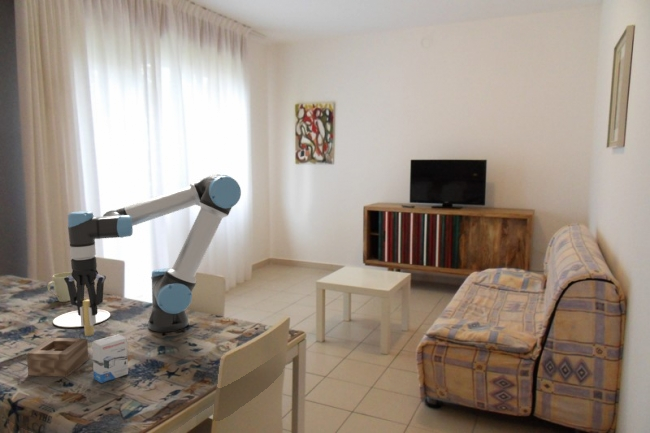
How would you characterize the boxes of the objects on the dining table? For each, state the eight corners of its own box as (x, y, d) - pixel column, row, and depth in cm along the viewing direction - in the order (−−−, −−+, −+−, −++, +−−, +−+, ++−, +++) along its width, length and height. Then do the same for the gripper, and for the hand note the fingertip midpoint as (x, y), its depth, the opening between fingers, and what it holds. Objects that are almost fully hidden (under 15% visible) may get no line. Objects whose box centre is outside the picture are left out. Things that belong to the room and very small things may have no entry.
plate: (108, 326, 180) (108, 323, 180) (48, 332, 172) (48, 329, 172) (112, 309, 199) (111, 306, 199) (57, 314, 192) (57, 311, 191)
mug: (54, 298, 212) (53, 273, 210) (78, 296, 215) (76, 272, 213) (47, 305, 201) (46, 279, 200) (72, 303, 204) (71, 278, 203)
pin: (95, 332, 158) (93, 299, 156) (91, 335, 155) (89, 301, 153) (87, 332, 158) (85, 299, 156) (83, 335, 155) (80, 301, 153)
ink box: (100, 384, 134) (99, 346, 132) (92, 378, 137) (91, 341, 135) (128, 373, 140) (127, 337, 139) (120, 368, 143) (119, 333, 142)
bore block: (88, 359, 150) (87, 338, 149) (67, 376, 138) (66, 354, 137) (52, 358, 150) (51, 337, 149) (28, 375, 138) (26, 353, 137)
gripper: (111, 254, 156) (115, 320, 159) (67, 254, 156) (72, 320, 160) (100, 259, 149) (105, 328, 152) (54, 259, 149) (60, 328, 152)
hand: (88, 324), depth 156 cm, fingers closed on pin, 2 cm apart
